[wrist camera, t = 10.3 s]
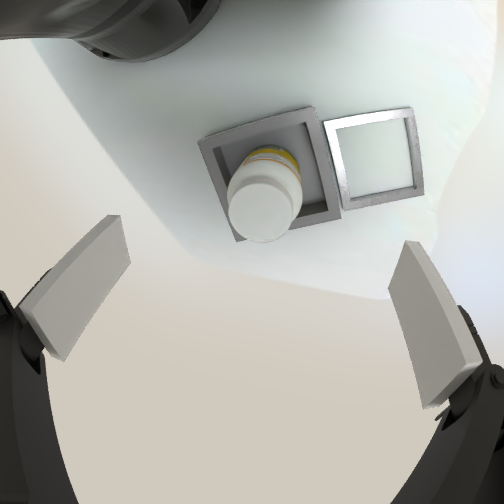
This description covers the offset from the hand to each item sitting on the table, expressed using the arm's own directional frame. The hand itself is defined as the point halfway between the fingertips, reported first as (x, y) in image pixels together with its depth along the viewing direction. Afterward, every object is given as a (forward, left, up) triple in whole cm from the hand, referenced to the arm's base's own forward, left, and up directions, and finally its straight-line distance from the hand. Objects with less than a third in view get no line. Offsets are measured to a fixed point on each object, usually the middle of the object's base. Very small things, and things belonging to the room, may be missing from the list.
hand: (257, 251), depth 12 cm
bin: (0, 0, -15) cm, 15 cm away
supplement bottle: (0, -1, -15) cm, 15 cm away
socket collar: (+1, +10, -15) cm, 18 cm away
